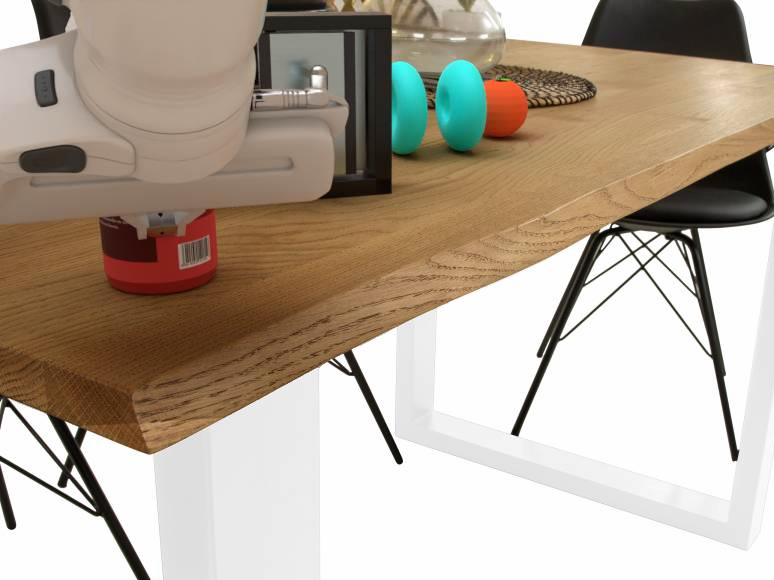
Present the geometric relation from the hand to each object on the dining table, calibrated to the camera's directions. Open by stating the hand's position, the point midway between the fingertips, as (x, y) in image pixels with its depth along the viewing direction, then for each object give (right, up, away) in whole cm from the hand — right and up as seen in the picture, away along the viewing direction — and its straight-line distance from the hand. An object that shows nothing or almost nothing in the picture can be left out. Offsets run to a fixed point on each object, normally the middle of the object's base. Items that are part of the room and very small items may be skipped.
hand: (159, 228), depth 65 cm
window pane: (+7, +6, +26) cm, 27 cm away
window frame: (+2, +5, +28) cm, 28 cm away
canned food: (-1, -3, +6) cm, 7 cm away
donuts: (+17, +12, +48) cm, 52 cm away
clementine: (+25, +15, +57) cm, 64 cm away
